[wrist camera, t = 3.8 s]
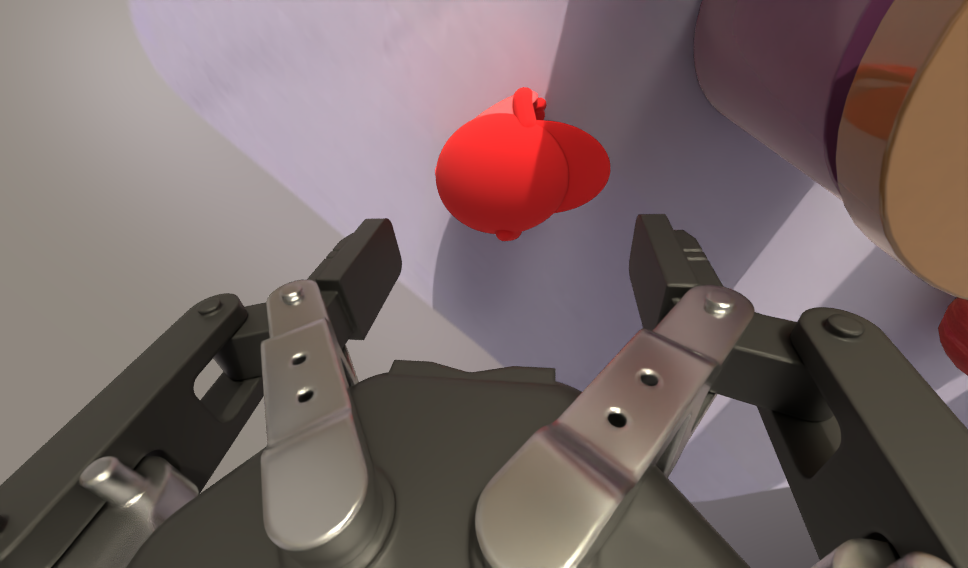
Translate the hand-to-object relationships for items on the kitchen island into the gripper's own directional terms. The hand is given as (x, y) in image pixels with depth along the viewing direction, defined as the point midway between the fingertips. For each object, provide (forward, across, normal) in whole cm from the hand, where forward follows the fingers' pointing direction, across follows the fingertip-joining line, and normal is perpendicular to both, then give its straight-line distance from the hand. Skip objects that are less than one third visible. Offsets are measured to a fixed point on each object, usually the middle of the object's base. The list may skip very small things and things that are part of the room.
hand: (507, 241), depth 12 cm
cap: (+10, 0, 0) cm, 10 cm away
